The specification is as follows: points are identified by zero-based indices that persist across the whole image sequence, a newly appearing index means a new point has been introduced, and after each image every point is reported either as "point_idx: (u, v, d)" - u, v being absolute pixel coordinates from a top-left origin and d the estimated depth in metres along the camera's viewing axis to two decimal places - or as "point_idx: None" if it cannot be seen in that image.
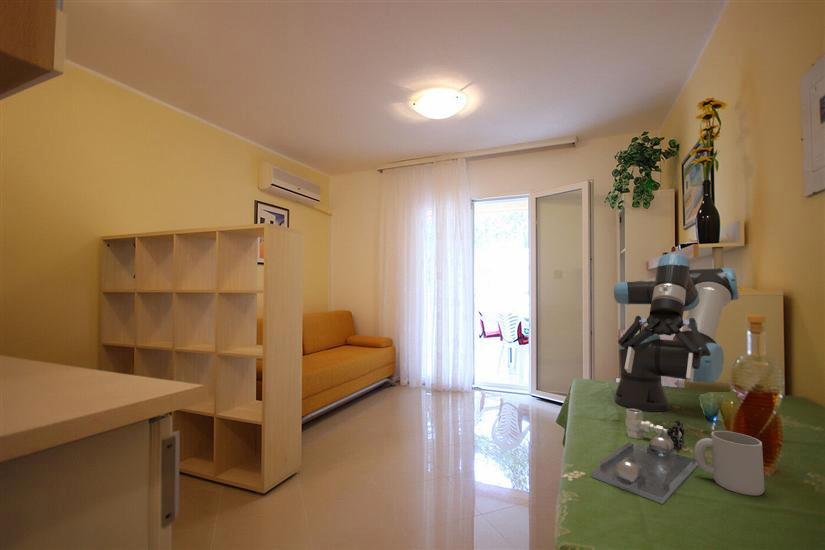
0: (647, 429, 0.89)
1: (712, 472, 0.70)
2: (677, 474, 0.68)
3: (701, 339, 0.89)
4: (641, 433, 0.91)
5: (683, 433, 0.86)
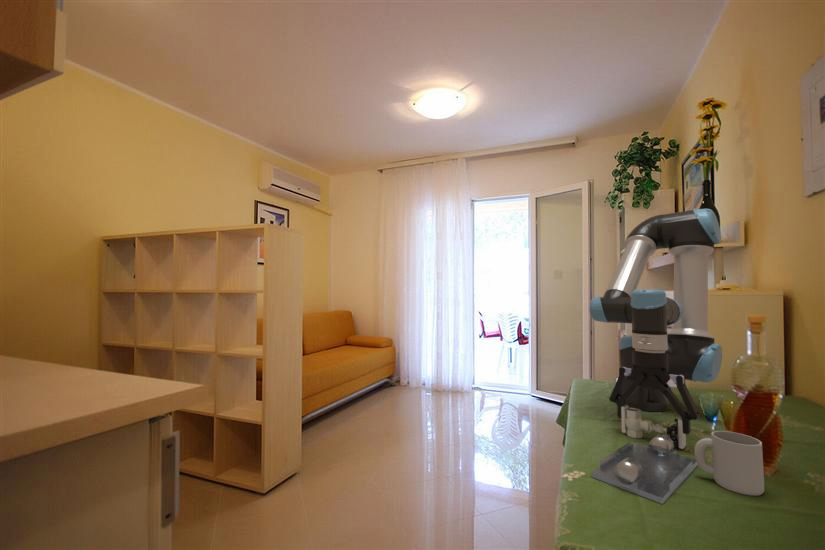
0: (646, 428, 0.89)
1: (712, 472, 0.70)
2: (677, 474, 0.68)
3: (689, 404, 0.83)
4: (641, 432, 0.91)
5: None
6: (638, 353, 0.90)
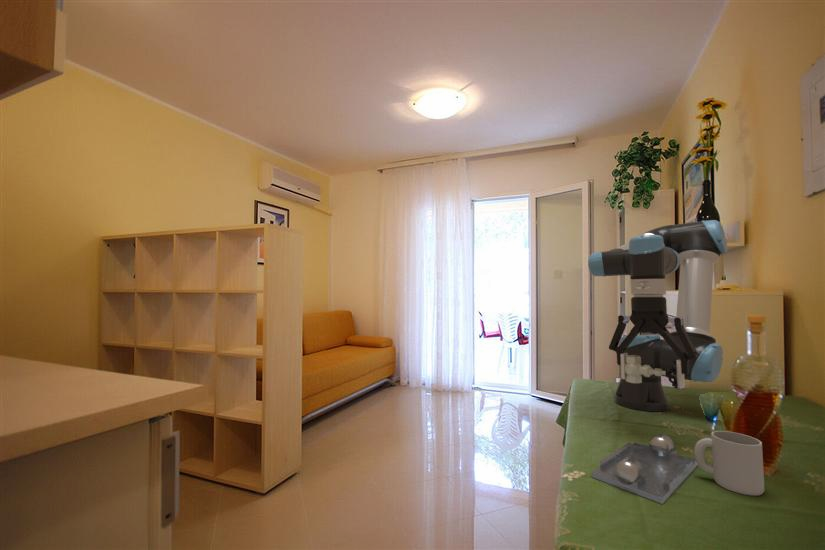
0: (645, 372, 0.90)
1: (712, 472, 0.70)
2: (677, 474, 0.68)
3: (688, 344, 0.84)
4: (640, 377, 0.92)
5: None
6: (636, 298, 0.90)
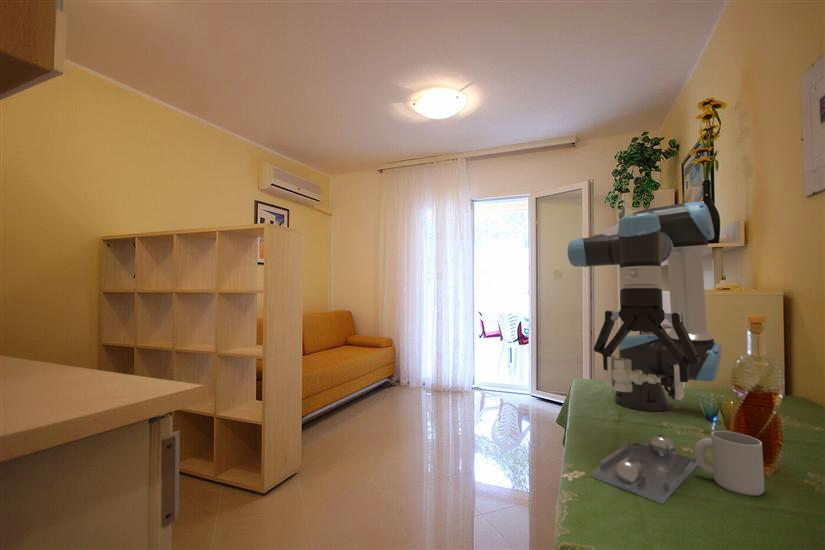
0: (636, 379, 0.75)
1: (712, 472, 0.70)
2: (677, 474, 0.68)
3: (688, 345, 0.68)
4: (630, 384, 0.77)
5: None
6: (626, 290, 0.75)
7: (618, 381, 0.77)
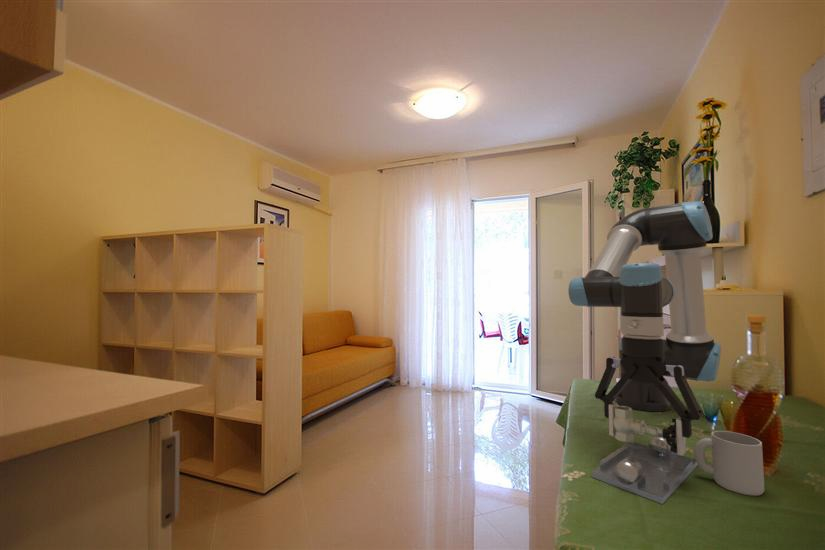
0: (638, 430, 0.74)
1: (712, 472, 0.70)
2: (677, 474, 0.68)
3: (690, 400, 0.68)
4: (631, 434, 0.76)
5: None
6: (628, 340, 0.74)
7: (619, 431, 0.76)
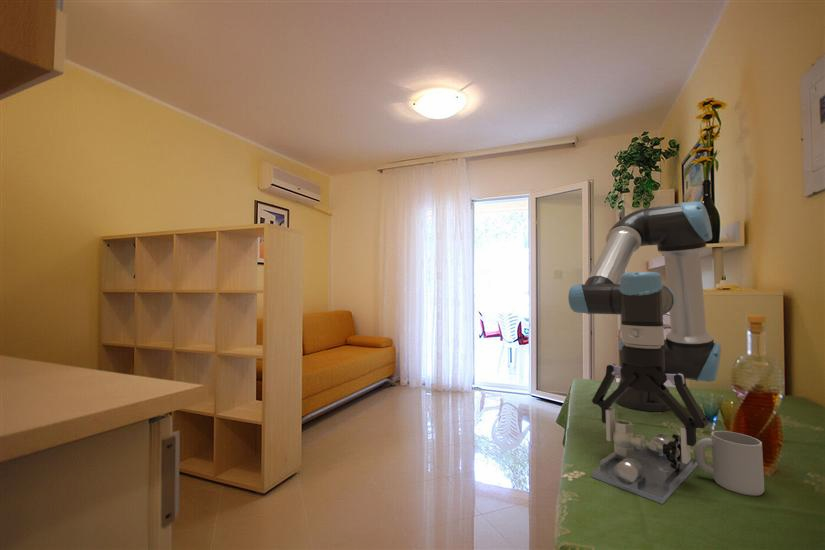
0: (638, 445, 0.74)
1: (712, 472, 0.70)
2: (677, 474, 0.68)
3: (693, 409, 0.67)
4: (632, 449, 0.76)
5: None
6: (628, 349, 0.74)
7: (620, 445, 0.76)
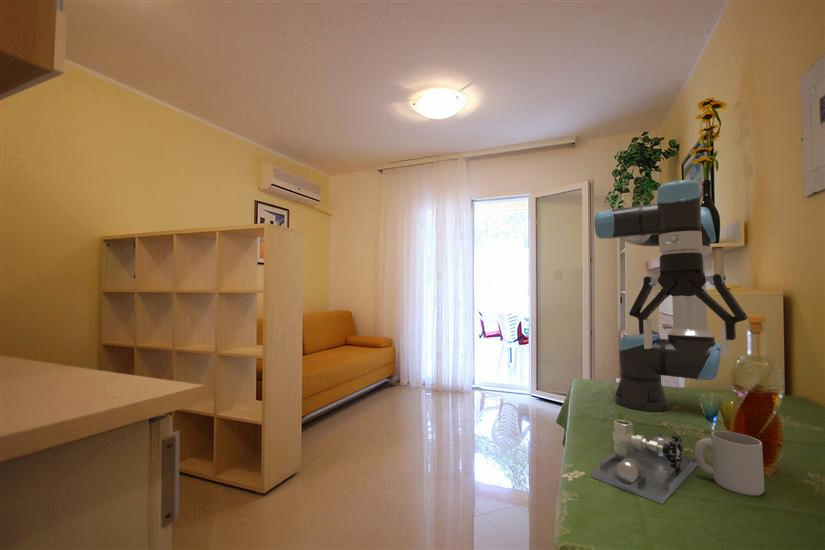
0: (638, 445, 0.74)
1: (712, 472, 0.70)
2: (677, 474, 0.68)
3: (733, 304, 0.70)
4: (632, 449, 0.76)
5: (681, 450, 0.72)
6: (667, 255, 0.77)
7: (620, 445, 0.76)
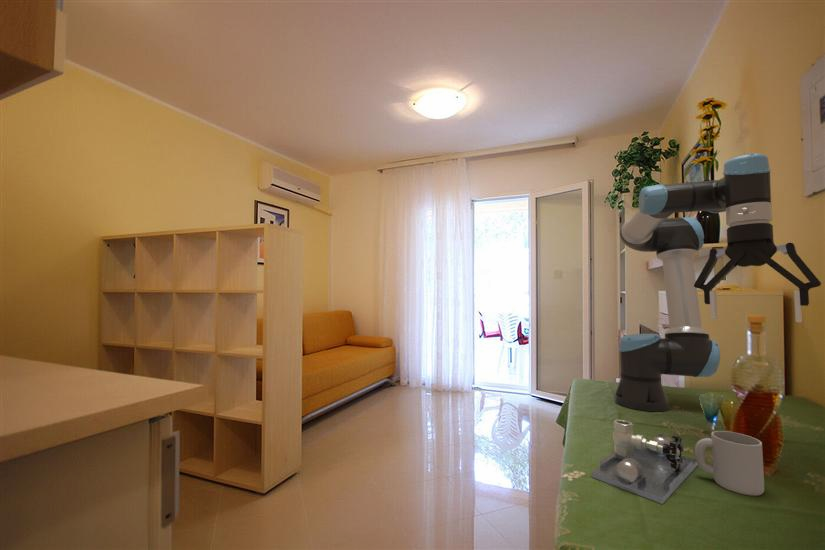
0: (638, 445, 0.74)
1: (712, 472, 0.70)
2: (677, 474, 0.68)
3: (808, 270, 0.72)
4: (632, 449, 0.76)
5: (681, 450, 0.72)
6: (737, 226, 0.79)
7: (620, 445, 0.76)
